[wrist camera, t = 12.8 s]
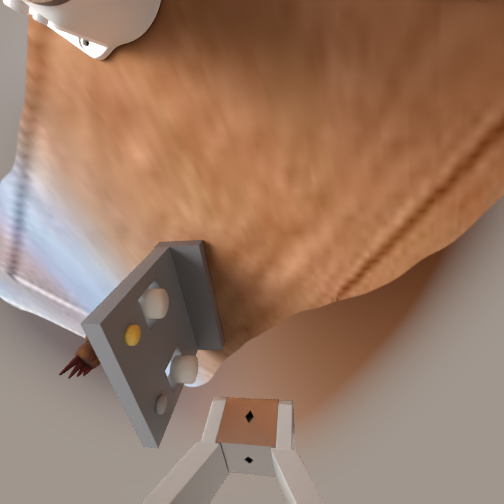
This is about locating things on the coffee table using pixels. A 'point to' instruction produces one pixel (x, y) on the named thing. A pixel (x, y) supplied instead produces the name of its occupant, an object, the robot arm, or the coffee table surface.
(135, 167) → the coffee table surface
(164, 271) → the control panel
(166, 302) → the beige rounded lump
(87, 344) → the wooden figurine
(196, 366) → the unlit button
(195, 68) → the coffee table surface
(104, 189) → the coffee table surface
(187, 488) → the robot arm
